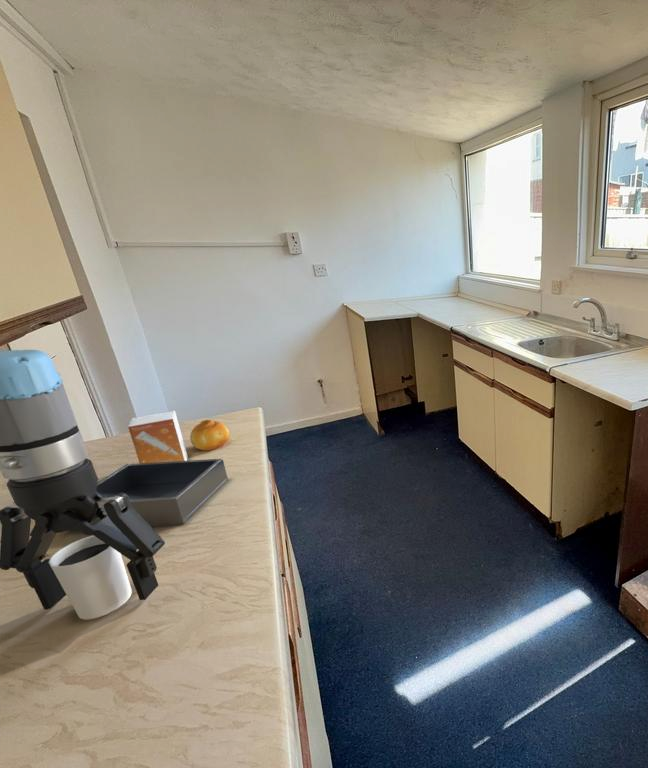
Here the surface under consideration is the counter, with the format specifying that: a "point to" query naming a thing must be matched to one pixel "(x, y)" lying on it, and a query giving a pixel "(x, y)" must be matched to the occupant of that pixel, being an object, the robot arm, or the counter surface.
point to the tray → (165, 488)
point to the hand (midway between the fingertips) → (103, 597)
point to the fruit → (209, 435)
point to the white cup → (92, 577)
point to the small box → (158, 438)
